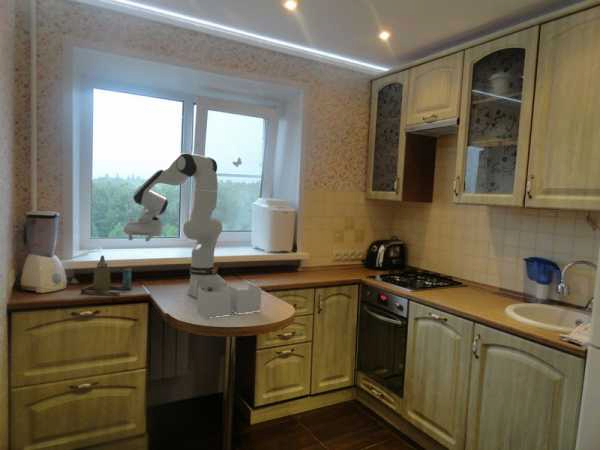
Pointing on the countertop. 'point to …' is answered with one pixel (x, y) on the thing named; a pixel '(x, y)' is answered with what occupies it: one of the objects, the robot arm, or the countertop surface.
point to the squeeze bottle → (102, 276)
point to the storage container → (228, 301)
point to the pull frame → (111, 286)
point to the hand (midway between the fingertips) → (138, 240)
